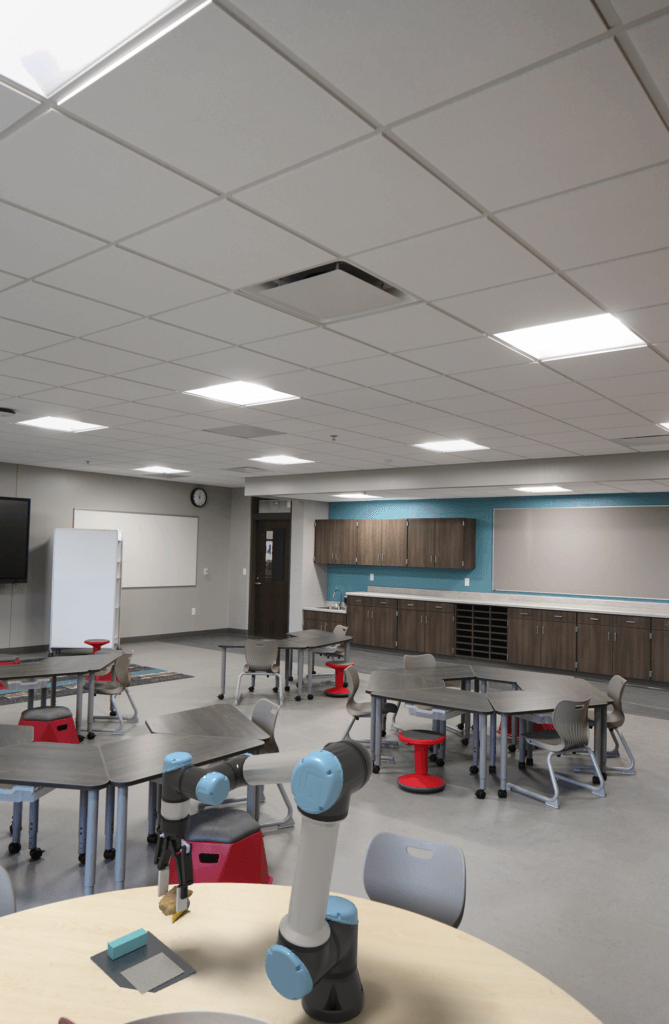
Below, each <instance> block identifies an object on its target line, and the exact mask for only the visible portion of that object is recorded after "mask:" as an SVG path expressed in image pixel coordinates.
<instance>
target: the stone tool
mask: <svg viewBox="0 0 669 1024" xmlns="http://www.w3.org/2000/svg"><path fill="white" fill-rule="evenodd" d="M193 893H194V891H193V890H192V889H189V888H188V897H187V899H189V898H190V897H191V896H192V895H193ZM176 897H177V885H174V886H173V887H172V888H171V889H170V890H168V893H166V894H165V895H163V896H162V897H161V899H160V900H159V902H158V909H159V910H160V911H161V913H162V915H164V916H166V917H168V916H173V914H176Z"/></svg>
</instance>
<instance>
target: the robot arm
mask: <svg viewBox="0 0 669 1024" xmlns="http://www.w3.org/2000/svg"><path fill="white" fill-rule="evenodd" d="M193 763H194V761H193V756H192V755H191V753H189V752H185V751H175V752H171V753H168V754H167V755H165V757H164V759H163V763H162V771H161V773H162V775H161V776H162V779H161V800H160V801H161V802H160V804H161V805H160V815H161V816H160V823H159V824H160V825H159V826H160V828H158V829H157V840H156V848H155V853H154V860H153V864H154V865H155V866H156V869H157V870H158V873H157V874H158V878H157V879H158V880H157V897H158V898H160V897H161V898H162V897H163V896H164V895H165V894H166V893H168V892H169V884H170V881H169V880H170V868H169V867H170V866H171V865H170V860H171V857H172V859H174V864H175V869H176V874H177V881H178V884H177V885H176V886H177V897H176V912H177V913H178V912H181V911H183V910H185V909H187V897H188V889H189V886H192V885H194V883H195V881H194V868H193V855H192V854H193V843H191V842H190V843H188V842H187V840H186V833H187V832H188V831H189V829H190V827H191V825H190V824H191V823H190V822H191V815H190V813H191V800H195V801H198V802H199V803H202V804H204V805H211V806H219V805H221V804H222V803H224V800H226V799H227V798H228V795H229V793H230V792H231V791H233V790H236V789H238V788H241V787H250V786H252V787H253V786H261V785H262V786H263V785H264V786H265V785H276V784H289V783H290V790H291V791H290V792H291V794H292V795H293V796H294V797H293V800H294V802H295V804H296V809H297V812H298V813H299V814H300V816H301V822H300V828H299V835H298V843H297V848H296V849H297V850H296V856H295V864H294V870H293V874H292V875H293V876H292V883H291V892H290V897H289V898H290V899H289V903H288V910H287V911H288V912H287V913H286V914H285V915H284V916H282V918H281V919H280V922H279V925H278V932H277V940H276V941H275V944H272V945H270V947H269V949H268V950H267V952H266V954H265V957H264V969H265V973H266V976H267V978H268V980H269V982H270V985H271V986H272V987H273V989H274V990H275V991H276V992H277V993H278V994H279V995H280V996H282V997H283V998H285V999H286V1000H290V1001H298V1000H300V1002H301V1005H302V1009H303V1010H304V1012H305V1013H306V1014H307V1015H309V1017H311V1018H312V1019H315V1020H317V1021H319V1022H323V1023H330V1024H338V1023H343V1022H347V1021H349V1020H353V1018H355V1017H356V1016H357V1015H359V1014H360V1012H361V1011H362V1009H363V1008H364V1003H365V1001H364V1000H365V999H364V998H365V992H364V991H365V990H364V987H363V984H362V981H361V976H360V972H359V970H358V945H359V944H358V939H359V936H358V935H359V916H358V915H359V914H358V913H359V912H358V908H357V906H356V904H355V903H354V902H353V901H352V900H350V899H348V898H345V897H342V896H338V895H330V892H331V891H330V890H331V885H332V879H333V878H332V877H333V871H334V866H335V865H334V864H335V857H336V850H337V844H338V836H339V830H340V824H341V823H342V822H343V821H345V820H346V819H347V817H348V815H349V809H350V804H351V803H350V802H351V796H352V795H354V793H357V792H358V791H360V790H361V789H363V788H364V787H365V786H366V785H367V784H368V782H369V781H370V779H371V776H372V773H373V770H374V769H373V767H374V765H373V764H374V763H373V758H372V755H371V752H370V751H369V749H368V748H367V747H366V746H365V745H364V744H363V743H362V742H360V741H358V740H356V739H351V738H347V739H342V740H338V741H331V742H327V743H325V744H324V745H323V746H322V747H318V748H309V749H299V750H291V751H289V750H288V751H280V752H272V753H271V752H270V753H263V754H252V753H249V752H248V753H244V754H239V755H237V756H235V757H233V758H231V759H228V760H226V761H222V762H220V763H218V764H215V765H212V766H210V767H208V768H202V767H199V766H196V765H193ZM187 910H188V909H187Z"/></svg>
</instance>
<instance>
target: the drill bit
mask: <svg viewBox="0 0 669 1024" xmlns="http://www.w3.org/2000/svg"><path fill="white" fill-rule="evenodd" d="M190 906H191V900H190V899H189V898H188V899H187V909H185V910H183V911H181V912H178V913H177V912H176V914H172V919H171V921H172V924H173V923H174V922H175V921H176V920H177V919H178V918H179V917H180V916H181V915H182V914H183V913H184V912H186V911H187V910H188V909H189V908H190Z"/></svg>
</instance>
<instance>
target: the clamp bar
mask: <svg viewBox="0 0 669 1024" xmlns="http://www.w3.org/2000/svg"><path fill="white" fill-rule="evenodd" d="M147 936H148V932H147V931H146V929H144V928H143V927H141V928H138V929H136V930H134V931H132V932H129V933H127V934H125V935H123V936H120V937H118V938H116V939H114V940H112V941H109V942H107V949H108V951H107V955H108V956H109V957H110V958H111V959H112V960H114V959H116V958H118V957H120V956H122V955H124V954H127V953H129V952H131V951H133V950H135V949H137V948H139V947H142V946H144V945H146V944H147Z"/></svg>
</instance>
